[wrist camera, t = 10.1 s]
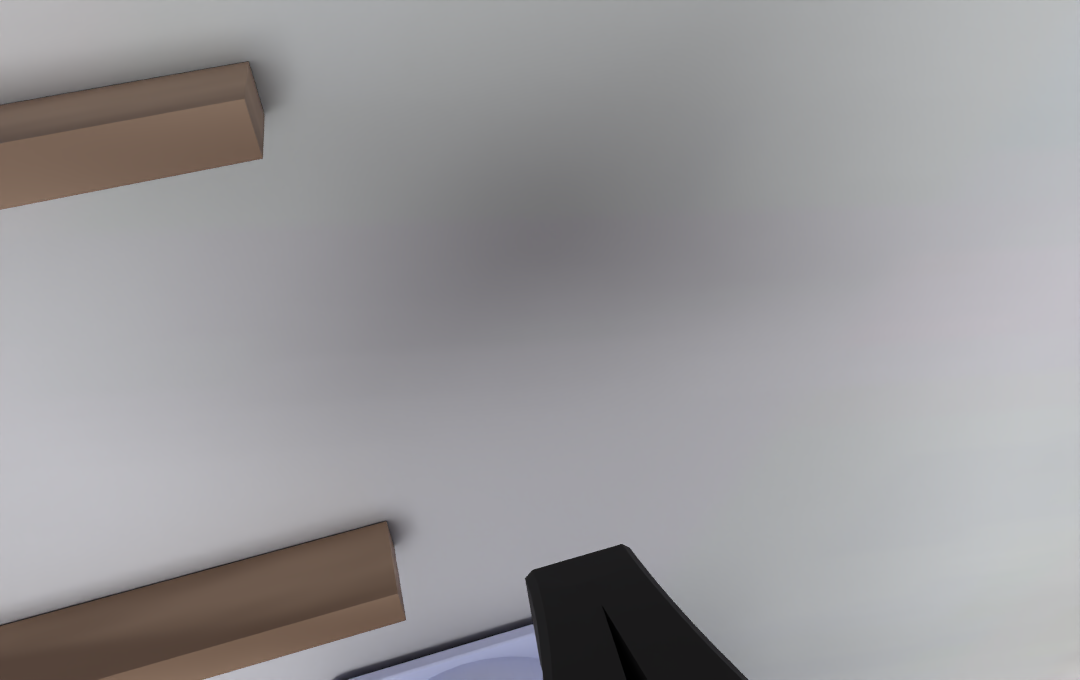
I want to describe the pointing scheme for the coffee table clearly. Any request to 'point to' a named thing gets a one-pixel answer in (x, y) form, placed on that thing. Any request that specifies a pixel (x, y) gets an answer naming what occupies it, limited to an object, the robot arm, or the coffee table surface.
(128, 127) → the chute
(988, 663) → the coffee table surface
